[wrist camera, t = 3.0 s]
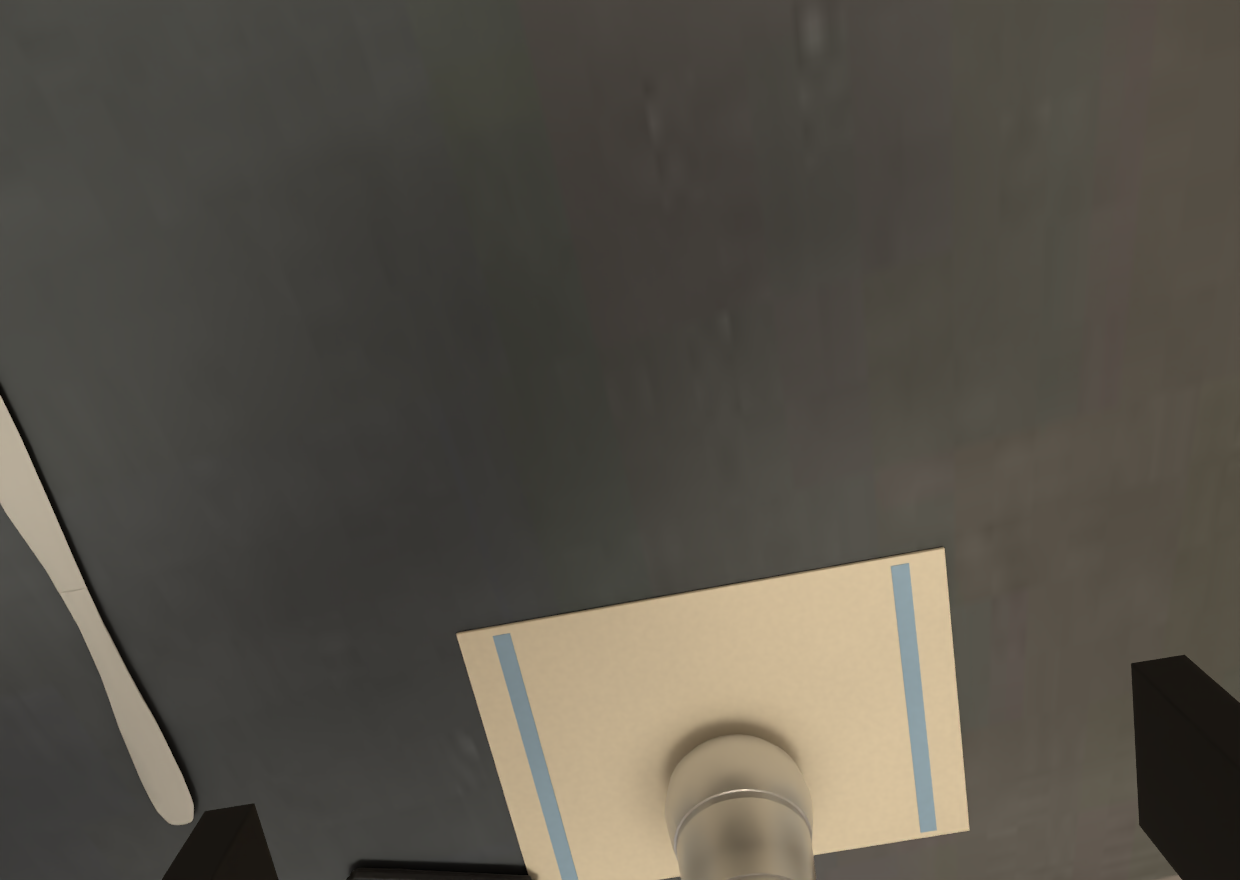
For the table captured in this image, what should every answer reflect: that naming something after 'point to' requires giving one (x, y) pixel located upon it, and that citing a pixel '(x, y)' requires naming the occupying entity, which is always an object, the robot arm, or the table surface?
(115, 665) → the butter knife
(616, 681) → the dish towel
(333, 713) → the table surface
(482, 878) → the usb stick
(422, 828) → the table surface
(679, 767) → the plastic bottle
